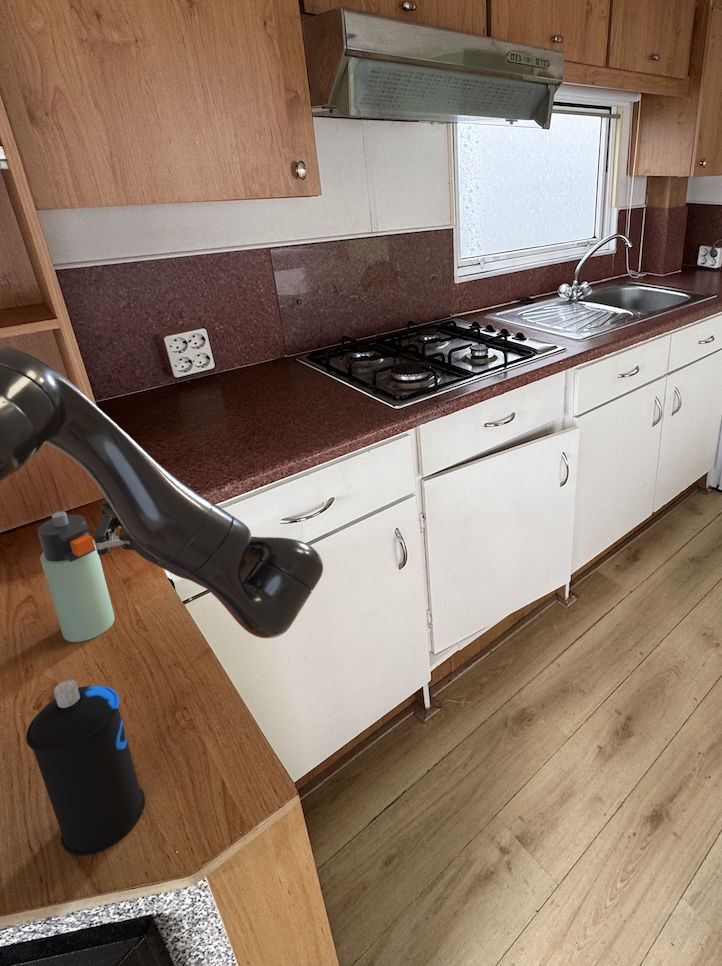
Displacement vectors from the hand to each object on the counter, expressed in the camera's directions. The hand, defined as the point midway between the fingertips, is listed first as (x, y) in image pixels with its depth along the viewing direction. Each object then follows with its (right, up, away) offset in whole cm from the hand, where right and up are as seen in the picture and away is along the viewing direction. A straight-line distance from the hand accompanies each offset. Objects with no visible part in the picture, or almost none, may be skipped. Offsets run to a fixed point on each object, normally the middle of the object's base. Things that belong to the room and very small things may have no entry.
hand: (108, 505), depth 80 cm
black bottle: (+8, -34, -12) cm, 38 cm away
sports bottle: (-14, -23, +17) cm, 32 cm away
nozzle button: (-10, -9, +9) cm, 16 cm away
